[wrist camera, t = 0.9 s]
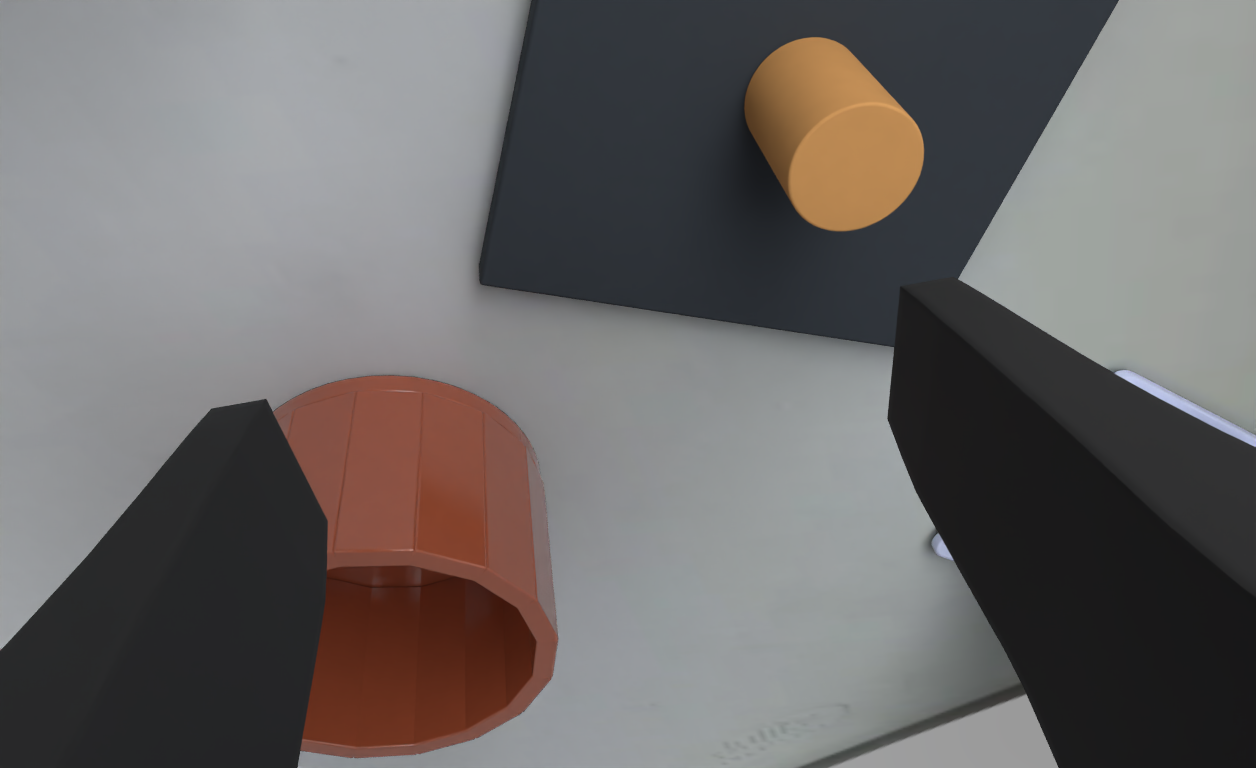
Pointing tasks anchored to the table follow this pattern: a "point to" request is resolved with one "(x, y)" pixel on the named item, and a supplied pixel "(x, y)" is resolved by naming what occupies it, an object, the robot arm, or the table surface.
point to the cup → (422, 565)
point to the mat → (719, 203)
